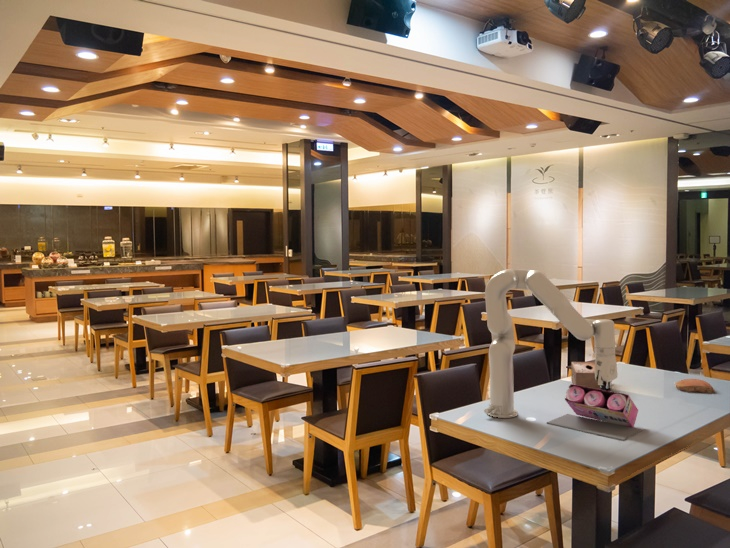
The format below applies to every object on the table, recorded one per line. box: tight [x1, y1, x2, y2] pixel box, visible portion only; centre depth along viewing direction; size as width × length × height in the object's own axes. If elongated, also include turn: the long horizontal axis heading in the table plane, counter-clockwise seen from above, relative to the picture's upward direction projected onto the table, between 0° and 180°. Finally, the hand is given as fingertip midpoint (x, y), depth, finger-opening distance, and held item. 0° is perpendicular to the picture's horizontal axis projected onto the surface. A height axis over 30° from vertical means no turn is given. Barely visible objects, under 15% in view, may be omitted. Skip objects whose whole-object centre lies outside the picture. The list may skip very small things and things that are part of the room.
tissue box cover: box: [570, 361, 601, 390], centre depth 288 cm, size 26×14×10 cm, turn 165°
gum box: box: [564, 383, 639, 428], centre depth 229 cm, size 24×8×14 cm
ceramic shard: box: [674, 378, 715, 394], centre depth 279 cm, size 15×6×15 cm
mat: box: [546, 413, 643, 442], centre depth 226 cm, size 16×30×1 cm, turn 42°
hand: (606, 397), depth 231 cm, fingers closed
